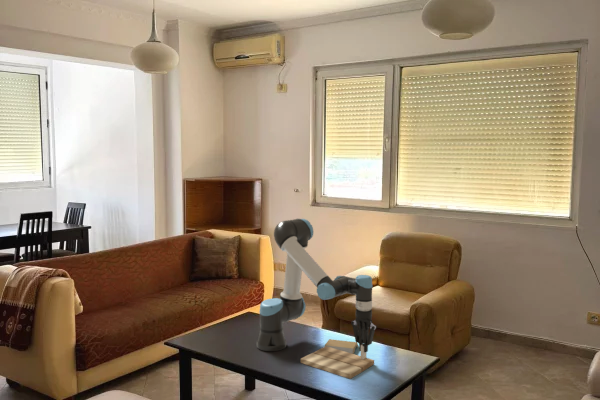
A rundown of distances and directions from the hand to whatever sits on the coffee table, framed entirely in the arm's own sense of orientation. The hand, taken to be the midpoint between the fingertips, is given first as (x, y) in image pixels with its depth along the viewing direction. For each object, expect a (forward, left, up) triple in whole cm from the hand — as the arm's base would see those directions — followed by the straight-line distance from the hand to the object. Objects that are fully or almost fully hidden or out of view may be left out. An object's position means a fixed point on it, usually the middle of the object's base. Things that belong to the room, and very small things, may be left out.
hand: (363, 358), depth 246 cm
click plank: (-9, -4, -2) cm, 10 cm away
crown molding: (-19, +8, -3) cm, 21 cm away
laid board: (-9, -14, -2) cm, 17 cm away
